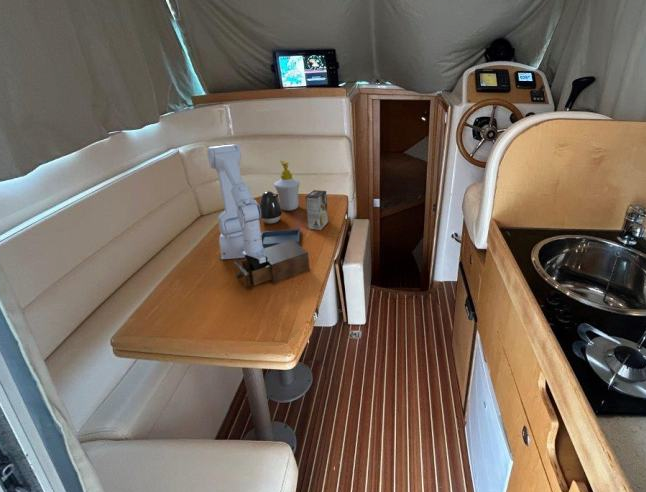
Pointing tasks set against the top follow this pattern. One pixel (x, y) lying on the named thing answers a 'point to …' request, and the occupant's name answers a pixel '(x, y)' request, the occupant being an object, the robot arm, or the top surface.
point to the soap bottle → (287, 189)
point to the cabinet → (286, 260)
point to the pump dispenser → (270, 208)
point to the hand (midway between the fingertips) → (257, 272)
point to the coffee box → (317, 209)
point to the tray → (279, 237)
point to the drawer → (257, 275)
